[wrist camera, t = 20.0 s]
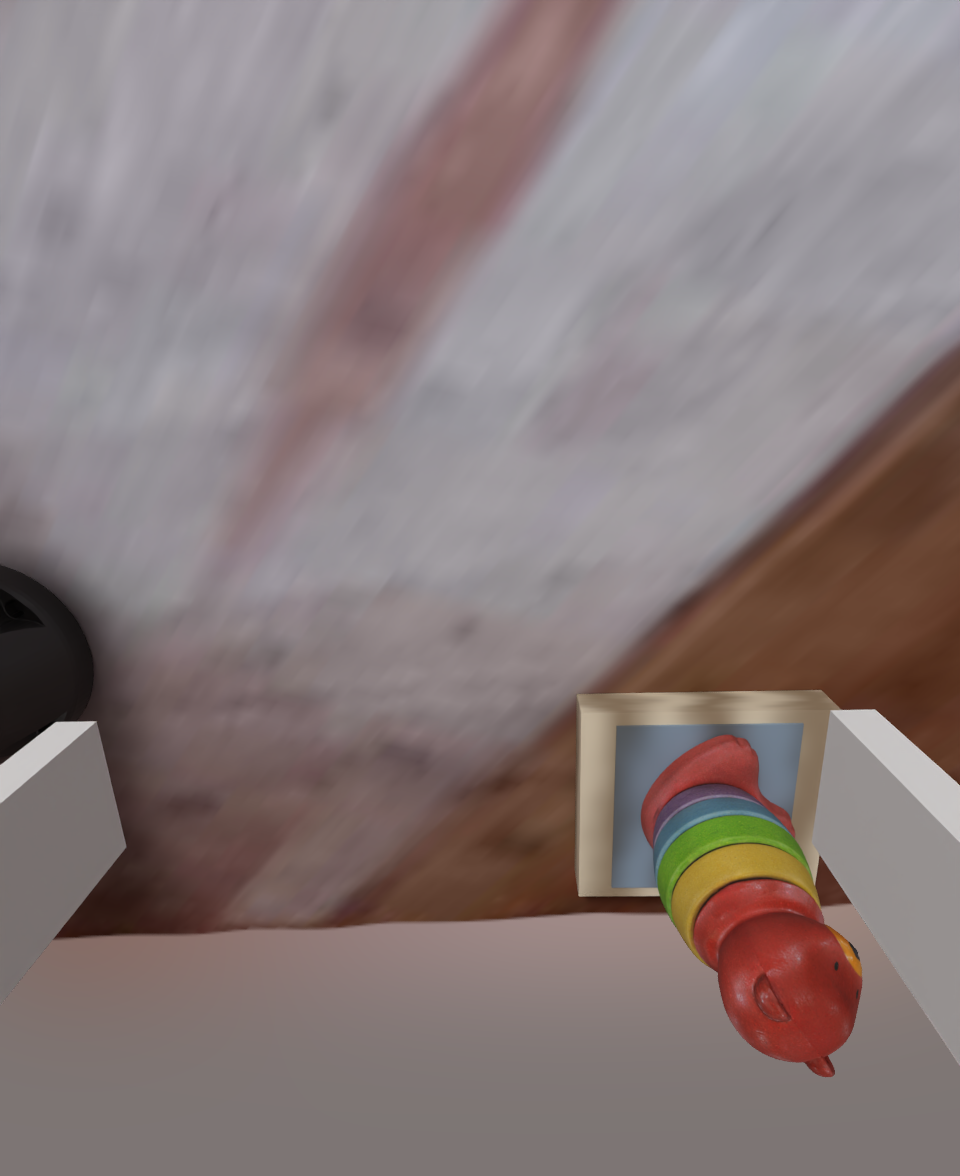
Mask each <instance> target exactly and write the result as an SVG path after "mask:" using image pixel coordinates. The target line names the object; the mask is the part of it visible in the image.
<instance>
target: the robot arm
mask: <svg viewBox="0 0 960 1176" xmlns="http://www.w3.org/2000/svg"><path fill="white" fill-rule="evenodd" d="M92 685H93V665H92V658H91V654H90V650H89V647H88V644H87V641H86V639H85V637H84V634H83V632H82V630H81V629H80V627H79V625H78V623H77V622H76V620H75V619H74V617H73V616H72V615H71V613H70V612H69V611H68V609H67V608H66V607H65V606H64V605H63V604H62V603H61V602H60V601H59V600H58V599H57V598H56V597H55V596H54V595H53V594H52V593H51V592H50V591H48V590H47V589H46V588H44V587H43V586H42V585H40V584H39V583H37V582H36V581H34V580H33V579H31V578H29V577H27V576H25V575H23V574H22V573H19V572H17V571H15V570H12V569H10V568H7V567H4V566H1V565H0V763H2V764H1V765H0V1005H1V1004H2V1003H3V1001H4V1000H5V999H6V998H7V996H8V995H9V994H10V992H11V991H12V990H13V989H14V988H15V986H16V985H17V984H18V983H19V981H20V980H21V979H22V978H23V976H24V975H25V974H26V972H27V971H28V970H29V969H30V968H31V966H32V965H33V964H34V963H35V961H36V960H37V959H38V957H39V956H40V955H41V954H42V952H43V951H44V950H45V949H46V947H47V946H48V945H49V943H50V942H51V941H52V940H53V939H54V937H55V936H56V935H57V934H58V932H59V931H60V930H61V929H62V927H63V926H64V925H65V924H66V922H67V921H68V920H69V919H70V917H71V916H72V915H73V914H74V912H75V911H76V910H77V909H78V907H79V906H80V905H81V904H82V902H83V901H84V900H85V898H86V897H87V896H88V895H89V893H90V892H91V891H92V890H93V888H94V887H95V886H96V885H97V883H98V882H99V881H100V880H101V878H102V877H103V876H104V875H105V873H106V872H107V871H108V870H109V868H110V867H111V866H112V865H113V863H114V862H115V861H116V860H117V858H118V857H119V856H120V855H121V853H122V852H123V851H124V850H125V848H126V843H125V839H124V834H123V830H122V826H121V822H120V818H119V813H118V809H117V805H116V801H115V797H114V792H113V788H112V784H111V780H110V775H109V771H108V767H107V763H106V759H105V754H104V750H103V746H102V742H101V738H100V733H99V729H98V725H97V721H89V722H76V720H77V719H78V718H79V717H80V715H81V714H82V713H83V711H84V709H85V707H86V705H87V703H88V701H89V698H90V695H91V690H92ZM3 762H4V763H3ZM812 844H813V845H814V847H815V848H816V850H817V851H818V853H819V854H820V856H821V857H822V859H823V860H824V862H825V863H826V865H827V866H828V868H829V869H830V871H831V872H832V874H833V875H834V877H835V878H836V880H837V881H838V883H839V884H840V886H841V887H842V889H843V890H844V892H845V893H846V895H847V896H848V898H849V899H850V901H851V902H852V904H853V906H854V907H855V908H856V910H857V911H858V913H859V915H860V916H861V918H862V919H863V920H864V922H865V924H866V925H867V927H868V928H869V930H870V931H871V933H872V934H873V935H874V937H875V939H876V940H877V942H878V943H879V945H880V946H881V948H882V949H883V951H884V952H885V954H886V955H887V957H888V958H889V960H890V961H891V963H892V964H893V966H894V967H895V968H896V970H897V972H898V973H899V975H900V976H901V978H902V979H903V981H904V982H905V984H906V985H907V987H908V988H909V990H910V991H911V993H912V995H913V996H914V998H915V999H916V1001H917V1002H918V1003H919V1005H920V1006H921V1008H922V1009H923V1011H924V1013H925V1014H926V1016H927V1017H928V1019H929V1020H930V1022H931V1023H932V1025H933V1026H934V1028H935V1029H936V1031H937V1032H938V1034H939V1035H940V1037H941V1038H942V1040H943V1041H944V1043H945V1044H946V1046H947V1047H948V1049H949V1050H950V1052H951V1053H952V1055H953V1056H954V1058H955V1059H956V1061H957V1062H958V1064H959V1066H960V785H959V784H958V783H956V782H955V781H954V780H953V779H952V778H951V777H950V776H949V775H948V774H946V773H945V772H944V771H943V770H942V769H941V768H940V767H939V766H938V765H936V764H935V763H934V762H933V761H932V760H931V759H930V758H929V757H927V756H926V755H925V754H924V753H923V752H922V751H921V750H920V749H919V748H917V747H916V746H915V745H914V744H913V743H912V742H911V741H910V740H909V739H907V738H906V737H905V736H904V735H903V734H902V733H901V732H900V731H898V730H897V729H896V728H895V727H894V726H893V725H892V724H891V723H890V722H888V721H887V720H886V719H885V718H884V717H883V716H882V715H881V714H880V713H878V712H877V711H876V710H830V716H829V723H828V730H827V737H826V744H825V751H824V758H823V765H822V772H821V779H820V786H819V793H818V800H817V807H816V815H815V822H814V829H813V836H812Z"/></svg>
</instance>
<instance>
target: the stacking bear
mask: <svg viewBox="0 0 960 1176" xmlns="http://www.w3.org/2000/svg"><path fill="white" fill-rule="evenodd" d="M758 775H759V761H758V755H757V753H756V751H755V750H754V749H752V748H751V746H750V744H749V742H748V740H746V739H744V738H737V737H735V736H733V735H721V736H717V737H714V738H712V739H709V740H707V741H705V742H703V743H701V744H699V745H697V746H695V747H693V748H692V749H690V750H688V751H687V752H685V753H684V754H682V755H681V756H680V757H678V758H677V759H676V760H675V761H673V762H672V763H671V764H670V765H669V766H668V767H667V768H666V769H665V770H664V771H663V772H662V773H661V774H660V775H659V777H658V778H657V779H656V781H655V782H654V783H653V784H652V786H651V788H650V789H649V791H648V793H647V795H646V797H645V799H644V801H643V804H642V809H641V825H642V829H643V832H644V835H645V837H646V839H647V841H648V843H649V844H650V846H651V847H652V849H653V865H654V874H655V881H656V885H657V888H658V891H659V895H660V898H661V900H662V903H663V905H664V907H665V909H666V911H667V913H668V915H669V917H670V919H671V921H672V922H673V924H674V925H675V927H676V928H677V929H678V931H679V933H680V935H681V936H682V938H683V940H684V941H685V943H686V944H687V946H688V947H689V948H690V950H691V951H692V953H693V954H694V955H695V956H696V957H697V958H698V959H699V960H700V961H701V962H702V963H704V964H705V965H707V966H708V967H710V968H712V969H713V970H715V971H716V972H718V982H719V987H720V992H721V996H722V1000H723V1004H724V1007H725V1010H726V1012H727V1014H728V1017H729V1018H730V1020H731V1022H732V1024H733V1025H734V1027H735V1028H736V1030H737V1031H738V1032H739V1034H740V1035H741V1036H742V1037H743V1038H744V1039H745V1040H746V1041H747V1042H748V1043H749V1044H750V1045H751V1046H752V1047H754V1048H755V1049H757V1050H758V1051H760V1052H762V1053H764V1054H766V1055H768V1056H770V1057H773V1058H775V1059H779V1060H783V1061H788V1062H804V1063H805V1064H807V1066H808V1067H809V1069H811V1070H812V1071H813V1072H814V1073H815V1074H817V1075H819V1076H822V1077H832V1076H833V1075H834V1074H835V1070H834V1067H833V1065H832V1063H831V1061H830V1059H829V1057H828V1055H829V1054H831V1053H833V1052H834V1051H836V1050H837V1049H839V1048H840V1047H841V1046H842V1045H843V1044H844V1043H845V1042H846V1040H847V1039H848V1037H849V1036H850V1034H851V1032H852V1029H853V1027H854V1023H855V1018H856V1013H857V1008H858V1004H859V999H860V994H861V989H862V967H861V963H860V959H859V957H858V952H857V950H856V949H855V948H854V947H853V945H852V944H851V943H850V942H848V941H847V940H846V939H845V938H844V937H843V936H842V935H840V934H839V933H838V932H836V931H835V930H834V929H832V928H831V927H829V926H827V925H825V924H824V919H823V915H822V912H821V907H820V902H819V898H818V894H817V891H816V888H815V885H814V882H813V877H812V874H811V871H810V868H809V865H808V863H807V860H806V858H805V856H804V854H803V851H802V849H801V848H800V846H799V844H798V843H797V841H796V840H795V830H794V827H793V825H792V823H791V819H790V816H789V814H788V813H787V812H786V810H784V809H783V808H781V807H779V806H777V805H775V804H774V803H772V802H770V801H769V800H767V799H766V798H765V797H764V796H763V795H762V794H761V792H760V789H759V786H758Z"/></svg>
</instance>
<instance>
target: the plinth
mask: <svg viewBox="0 0 960 1176" xmlns="http://www.w3.org/2000/svg"><path fill="white" fill-rule="evenodd" d="M830 710H841V709H840V708H839V707H838V706H837V705H836V704H835V703H834V702H833V701H832V700H831V699H830V698H829V697H828V696H827V695H826V694H825V693H824V692H823V691H821V690H797V691H736V692H674V693H612V694H577V715H576V802H575V874H576V881H577V888H578V895H579V896H660V895H659V891H658V888H657V885H656V881H655V874H654V865H653V849H652V847H651V846H650V844H649V843H648V841H647V839H646V837H645V835H644V832H643V829H642V825H641V809H642V804H643V801H644V799H645V797H646V795H647V793H648V791H649V789H650V788H651V786H652V784H653V783H654V782H655V781H656V779H657V778H658V777H659V775H660V774H661V773H662V772H663V771H664V770H665V769H666V768H667V767H668V766H669V765H670V764H671V763H672V762H673V761H675V760H676V759H677V758H678V757H680V756H681V755H682V754H684V753H685V752H687V751H688V750H690V749H692V748H693V747H695V746H697V745H699V744H701V743H703V742H705V741H707V740H709V739H712V738H714V737H717V736H721V735H733V736H735V737H737V738H744V739H746V740H748V742H749V744H750V746H751V748H752V749H754V750H755V751H756V753H757V755H758V761H759V775H758V786H759V789H760V792H761V794H762V795H763V796H764V797H765V798H766V799H767V800H769V801H770V802H772V803H774V804H775V805H777V806H779V807H781V808H783V809H784V810H786V812H787V813H788V814H789V816H790V819H791V823H792V825H793V827H794V830H795V840H796V841H797V843H798V844H799V846H800V848H801V849H802V851H803V854H804V856H805V858H806V860H807V863H808V865H809V868H810V871H811V874H812V877H813V882H814V885H815V881H816V875H817V868H818V861H819V853H818V851H817V850H816V848H815V847H814V845H813V844H812V836H813V829H814V822H815V815H816V807H817V800H818V793H819V786H820V779H821V772H822V765H823V758H824V751H825V744H826V737H827V730H828V723H829V716H830Z"/></svg>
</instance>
